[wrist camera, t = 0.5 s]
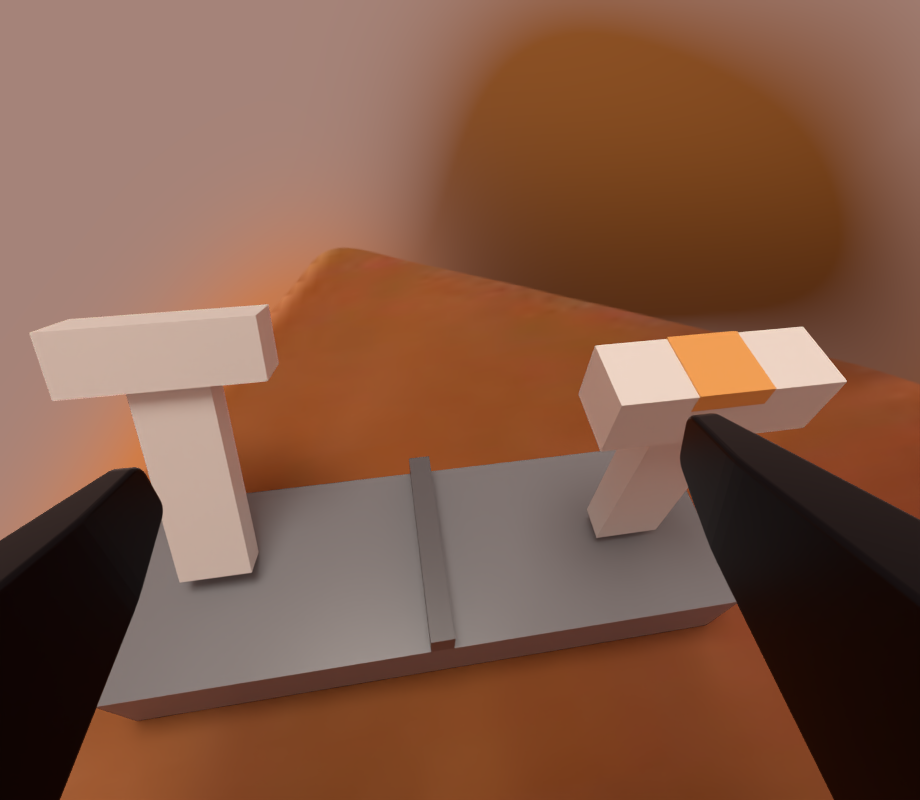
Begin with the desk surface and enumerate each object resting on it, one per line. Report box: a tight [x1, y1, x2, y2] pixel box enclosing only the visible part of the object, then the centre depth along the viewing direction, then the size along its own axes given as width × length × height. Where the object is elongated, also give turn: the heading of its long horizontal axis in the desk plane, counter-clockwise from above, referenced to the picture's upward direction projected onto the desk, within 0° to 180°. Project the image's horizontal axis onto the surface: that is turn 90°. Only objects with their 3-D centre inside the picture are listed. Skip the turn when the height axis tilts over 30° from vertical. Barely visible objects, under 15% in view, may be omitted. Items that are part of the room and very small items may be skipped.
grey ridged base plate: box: [97, 450, 737, 721], centre depth 21 cm, size 7×22×4 cm, turn 99°
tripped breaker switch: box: [579, 327, 847, 538], centre depth 17 cm, size 2×6×9 cm, turn 99°
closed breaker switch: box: [29, 304, 279, 583], centre depth 17 cm, size 2×6×9 cm
